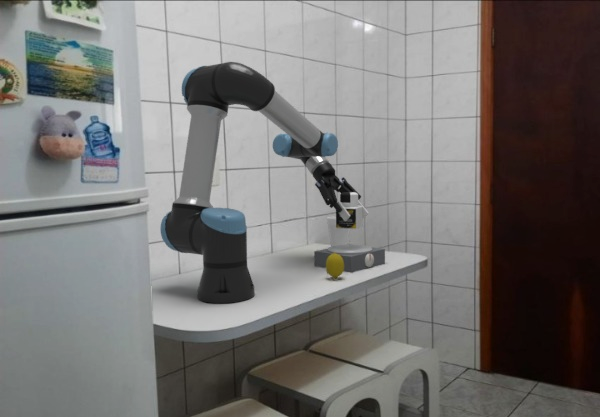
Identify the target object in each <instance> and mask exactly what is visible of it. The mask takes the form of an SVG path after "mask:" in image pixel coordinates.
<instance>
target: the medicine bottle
mask: <svg viewBox="0 0 600 417" xmlns="http://www.w3.org/2000/svg"><path fill="white" fill-rule="evenodd" d="M339 201H340V202H341V203H342V205H343V206H344V207H345V209H346V210H347V212H348V213H349V214H350V217H349V219H348V220H347V221H344V220H343V218H342V217H341V216H340V214H339V213H338V212H337V211H336V210H335V216H336V228H337V229H350V230H357V229H360V228H362V227H363V226H364V224H363V223H364V222H363V219H364V218H363V207H362V206H357V204H358V194H357V193H356V192H343V193H339Z"/></svg>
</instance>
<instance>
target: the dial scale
mask: <svg viewBox="0 0 600 417" xmlns="http://www.w3.org/2000/svg"><path fill="white" fill-rule="evenodd" d="M333 253H336V254H338V255H340V256H341V257H342V258H343V261H344V271H343V272H347V273H348V272H349V273H354V272H359V271H361V270H365V269H369V267H370V268H372V267H376V266H380V265H385V264H386V249H385V248H380V247H373V246H369V245H365V244H364V245H363V244H362V245H361V244H350V243H349V244H348V245H337V246H331V245H330V246H329V247H327V248H323V249H318V250H314V252H313V255H314V267H320V268H325V269H326V261H327V258H328V257H329V256H330V255H331V254H333ZM384 263H385V264H384Z"/></svg>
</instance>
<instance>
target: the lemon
mask: <svg viewBox="0 0 600 417" xmlns="http://www.w3.org/2000/svg"><path fill="white" fill-rule="evenodd" d="M325 270H326V272H327V274H328V275H329V276H330V277H332V279H334V280H336V279H338V277H340V276H341V275H342V274H343V273H344V272H345V271H344V261H343V258H342V257H341V256H340V255H338V254H336V253H333V254H331V255H330V256H329V257H328V258H327V261H326V268H325Z"/></svg>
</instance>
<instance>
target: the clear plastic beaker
mask: <svg viewBox="0 0 600 417" xmlns="http://www.w3.org/2000/svg"><path fill="white" fill-rule="evenodd" d="M326 224H327V227H328V228H327V229H328V234H329V241H330V242H329V243H330V247H331V246H337V245H348V244H350V234H351V229H337V228H336V215H335V216H334V215H333V216H327V217H326Z"/></svg>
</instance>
